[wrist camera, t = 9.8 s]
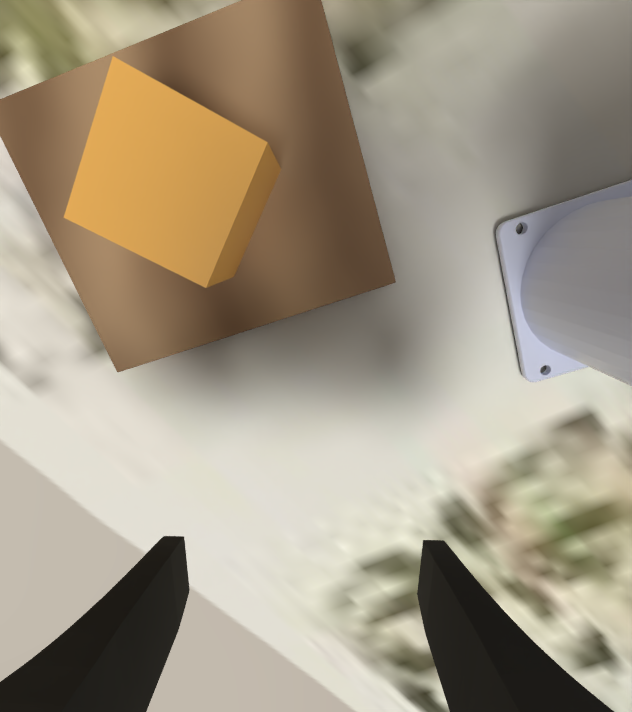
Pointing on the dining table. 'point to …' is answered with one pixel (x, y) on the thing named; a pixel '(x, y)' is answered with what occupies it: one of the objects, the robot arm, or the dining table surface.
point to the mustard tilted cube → (170, 178)
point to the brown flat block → (284, 206)
